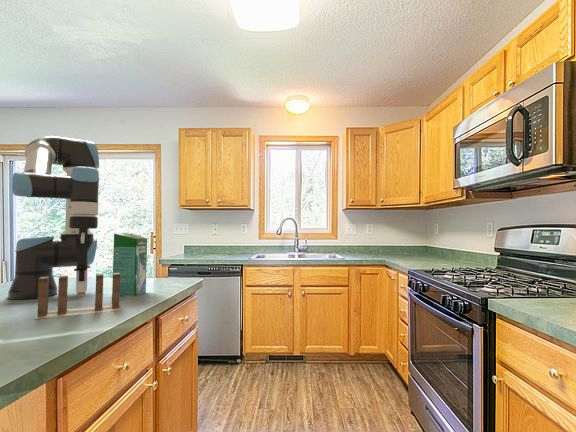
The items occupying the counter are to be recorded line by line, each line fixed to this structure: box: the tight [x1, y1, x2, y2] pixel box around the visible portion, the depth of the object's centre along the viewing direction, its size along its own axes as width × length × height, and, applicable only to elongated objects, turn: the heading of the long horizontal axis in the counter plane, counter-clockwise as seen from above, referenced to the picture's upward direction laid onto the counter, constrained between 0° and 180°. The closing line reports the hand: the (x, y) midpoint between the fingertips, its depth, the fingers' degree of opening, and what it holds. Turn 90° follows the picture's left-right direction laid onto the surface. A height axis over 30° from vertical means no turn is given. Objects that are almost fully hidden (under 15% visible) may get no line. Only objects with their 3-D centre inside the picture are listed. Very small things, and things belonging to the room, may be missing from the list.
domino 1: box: [36, 277, 49, 317], centre depth 96 cm, size 4×2×11 cm, turn 31°
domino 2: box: [57, 275, 69, 315], centre depth 98 cm, size 4×2×11 cm, turn 31°
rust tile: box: [76, 292, 86, 297], centre depth 101 cm, size 4×2×11 cm, turn 31°
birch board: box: [33, 304, 122, 320], centre depth 101 cm, size 9×22×1 cm, turn 121°
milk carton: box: [112, 232, 148, 297], centre depth 128 cm, size 9×9×25 cm
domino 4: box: [111, 272, 121, 309], centre depth 106 cm, size 4×2×11 cm, turn 31°
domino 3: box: [94, 273, 104, 311], centre depth 103 cm, size 4×2×11 cm, turn 31°
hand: (81, 290), depth 101 cm, fingers closed on rust tile, 4 cm apart
